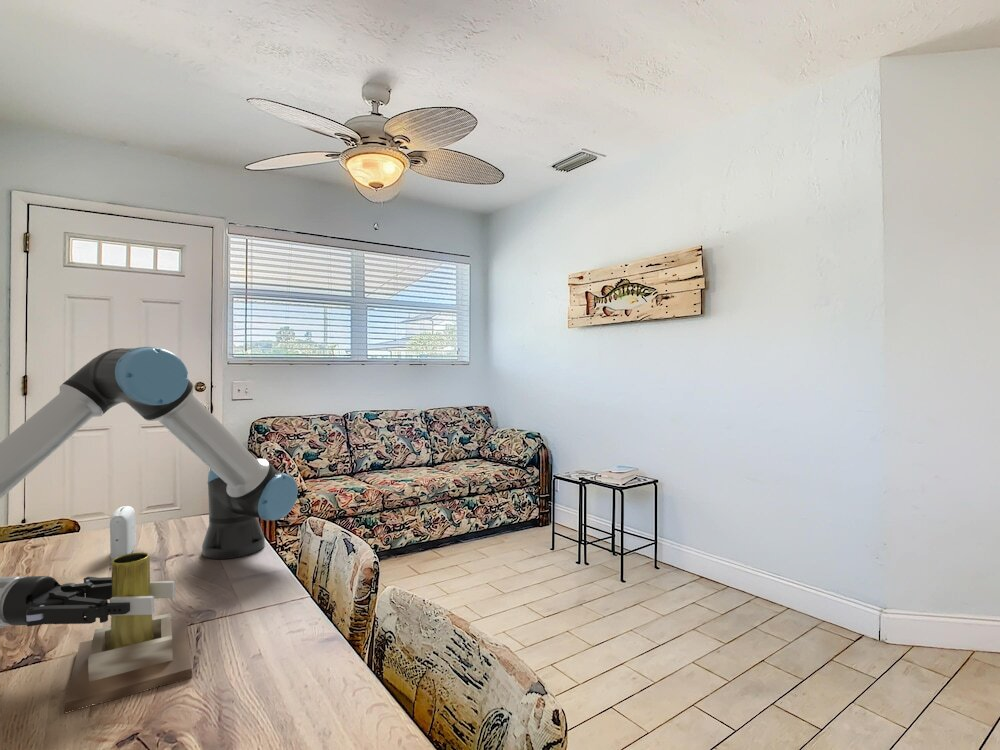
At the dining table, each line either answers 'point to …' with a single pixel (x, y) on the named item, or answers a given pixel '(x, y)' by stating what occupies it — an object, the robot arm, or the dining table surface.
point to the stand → (128, 664)
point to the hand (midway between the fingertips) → (163, 597)
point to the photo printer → (122, 531)
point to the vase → (129, 582)
